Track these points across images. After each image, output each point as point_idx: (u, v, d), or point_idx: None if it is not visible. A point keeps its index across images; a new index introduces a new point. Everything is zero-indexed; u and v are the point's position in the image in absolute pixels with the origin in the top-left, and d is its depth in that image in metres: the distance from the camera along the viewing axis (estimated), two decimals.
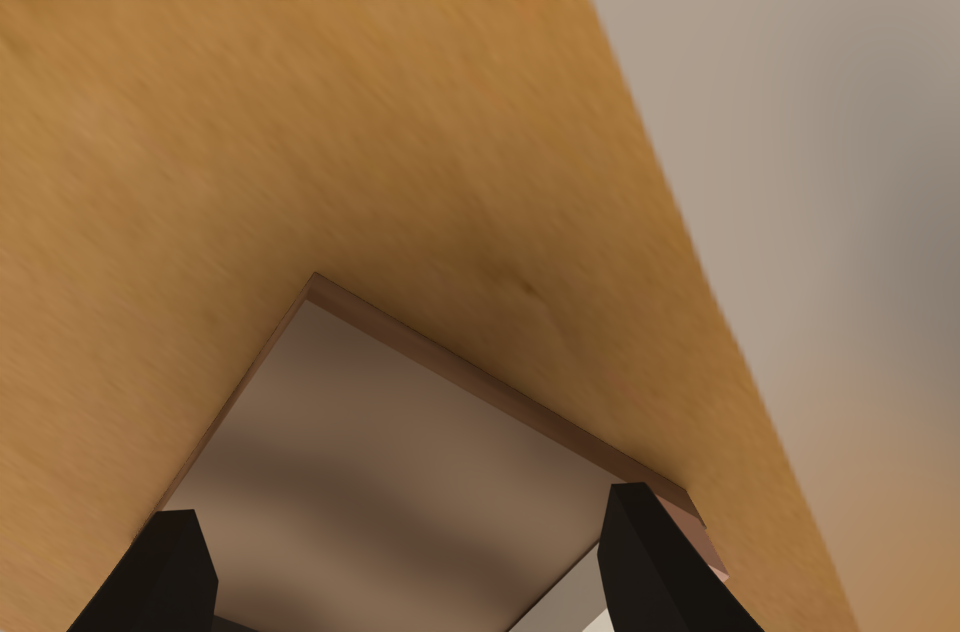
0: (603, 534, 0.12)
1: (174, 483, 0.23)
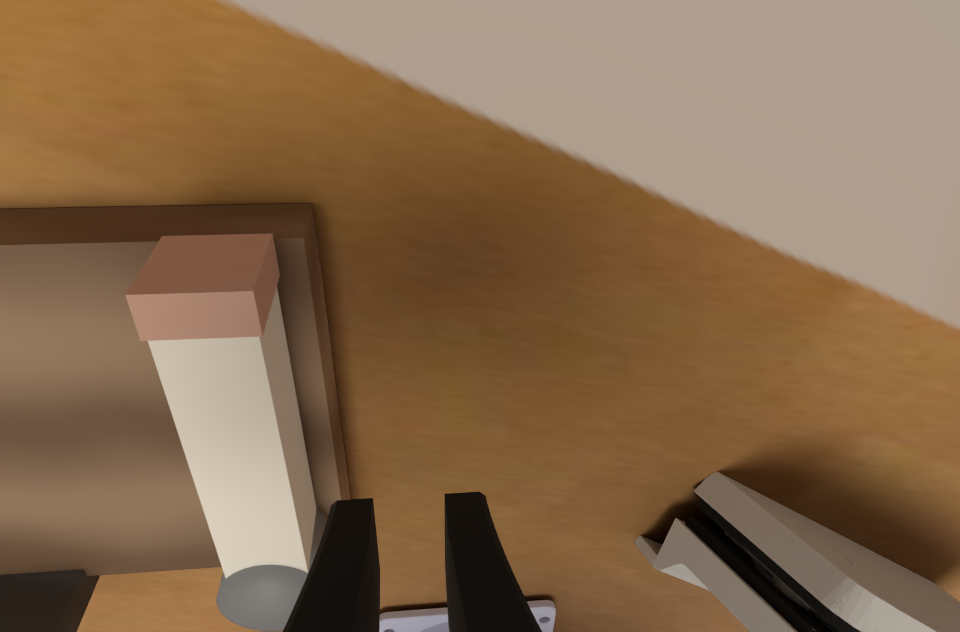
0: (445, 545, 0.12)
1: None
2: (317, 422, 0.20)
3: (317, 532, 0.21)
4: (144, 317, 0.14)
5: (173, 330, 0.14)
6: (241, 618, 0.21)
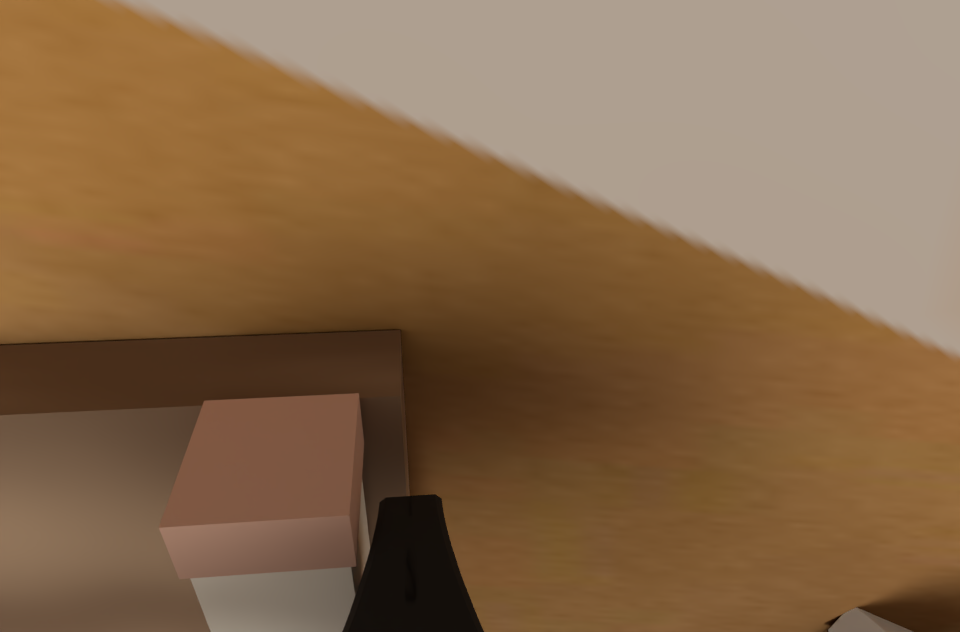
0: None
1: None
2: None
3: None
4: (186, 552, 0.10)
5: (228, 565, 0.10)
6: None
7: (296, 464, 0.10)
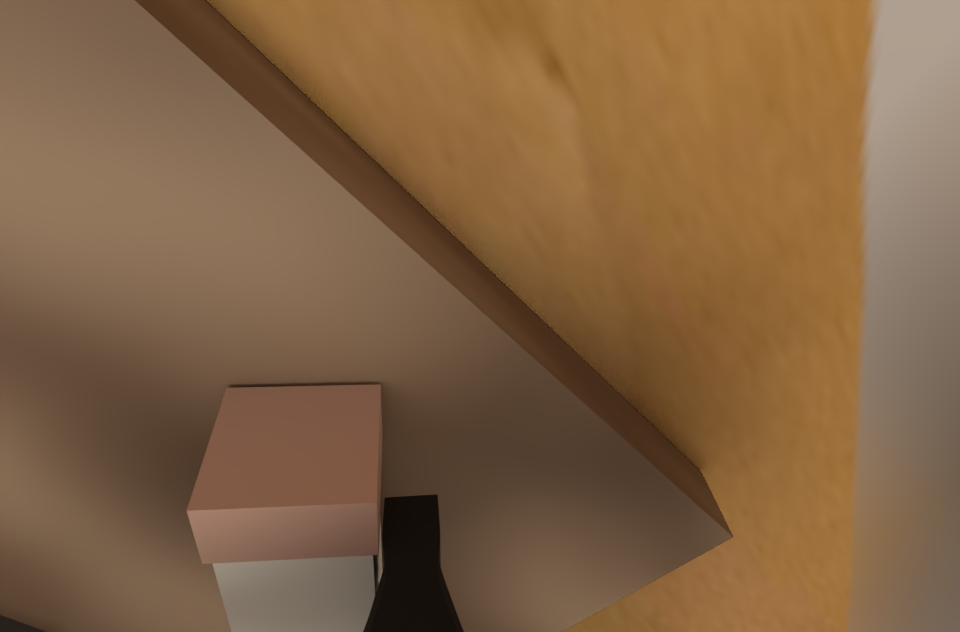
0: None
1: None
2: None
3: None
4: (211, 536, 0.10)
5: (252, 550, 0.10)
6: None
7: (321, 452, 0.10)
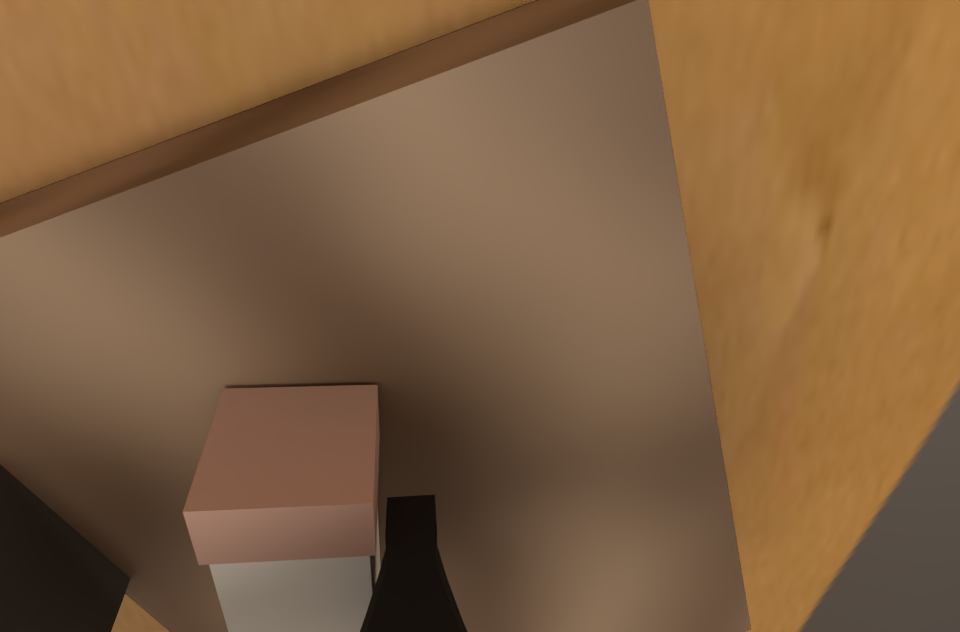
0: None
1: (65, 189, 0.11)
2: None
3: None
4: (208, 537, 0.10)
5: (248, 551, 0.10)
6: None
7: (318, 452, 0.10)
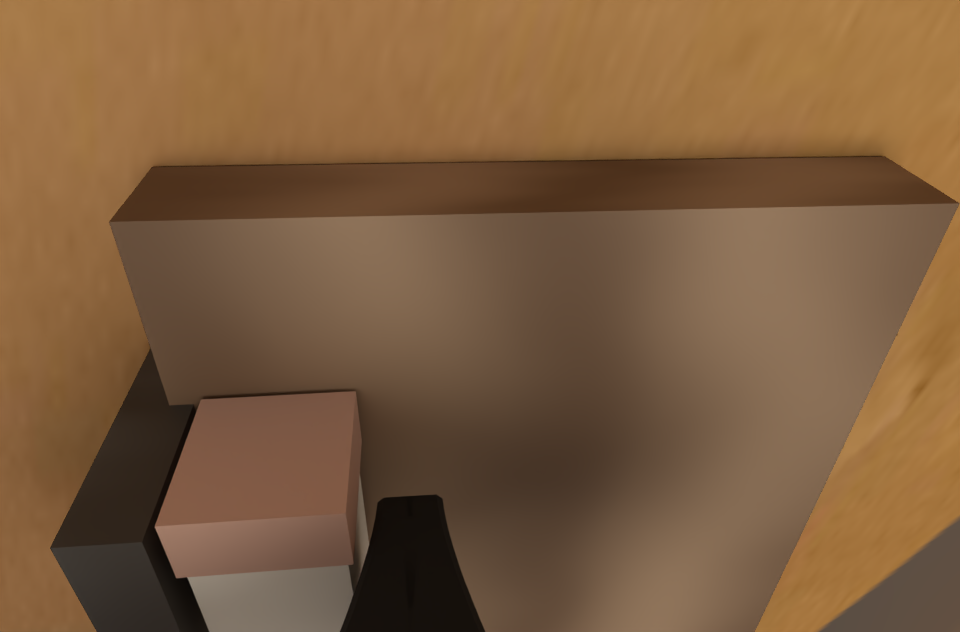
0: None
1: (387, 179, 0.11)
2: None
3: None
4: (183, 551, 0.09)
5: (225, 564, 0.10)
6: None
7: (292, 462, 0.10)
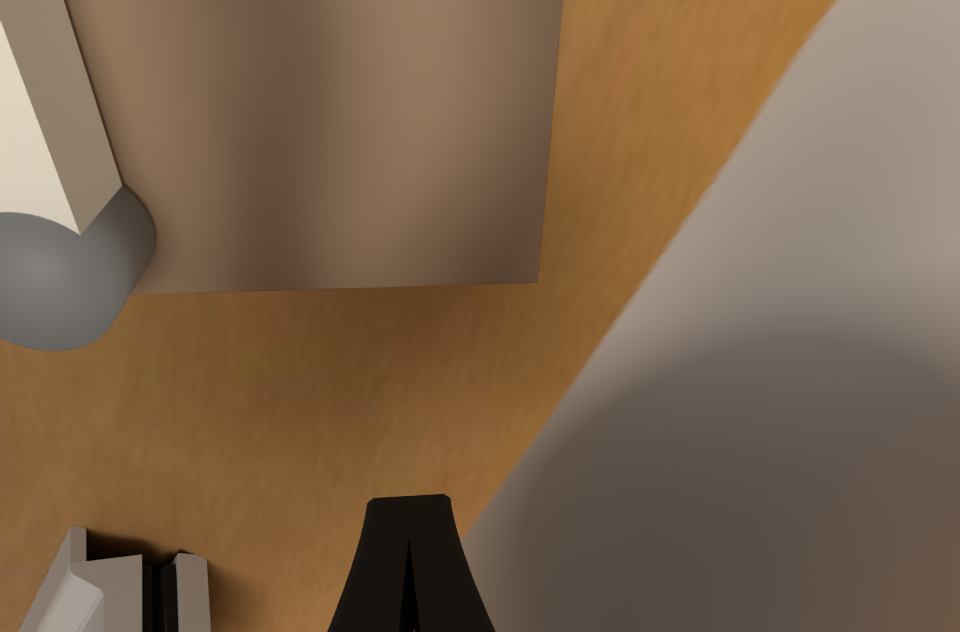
0: None
1: None
2: (298, 277, 0.17)
3: (115, 206, 0.14)
4: None
5: None
6: None
7: None
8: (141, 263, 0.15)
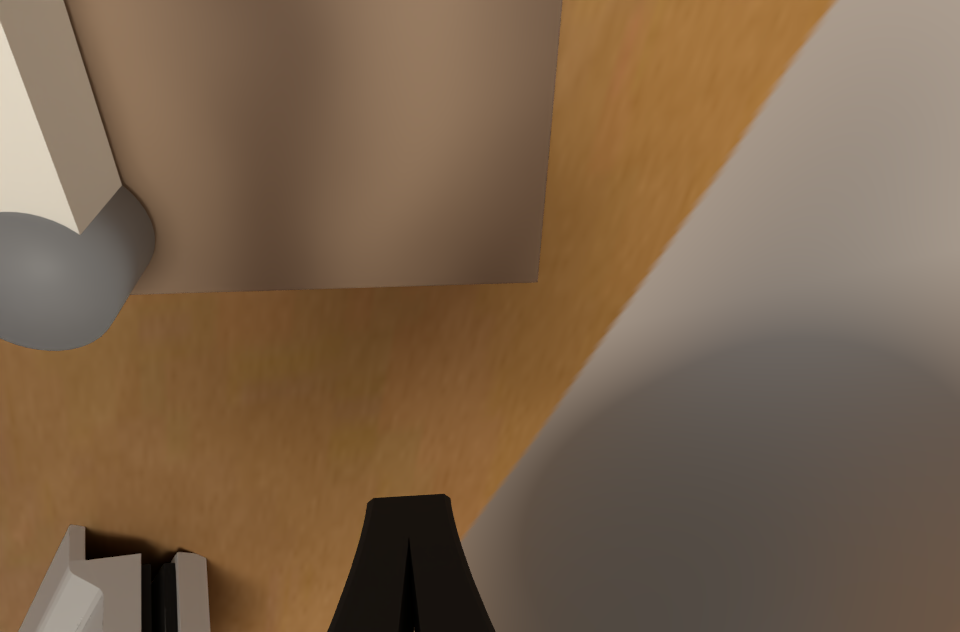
0: None
1: None
2: (298, 277, 0.17)
3: (115, 206, 0.14)
4: None
5: None
6: None
7: None
8: (141, 263, 0.15)
